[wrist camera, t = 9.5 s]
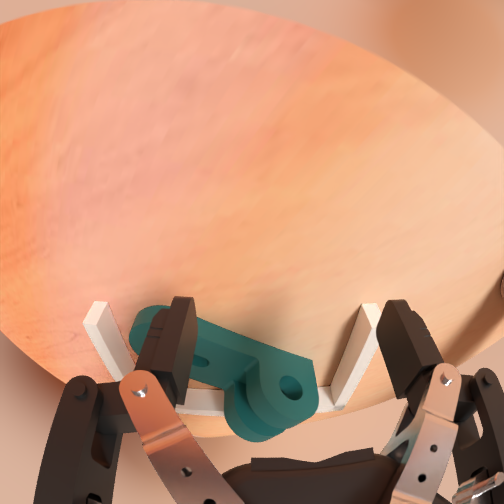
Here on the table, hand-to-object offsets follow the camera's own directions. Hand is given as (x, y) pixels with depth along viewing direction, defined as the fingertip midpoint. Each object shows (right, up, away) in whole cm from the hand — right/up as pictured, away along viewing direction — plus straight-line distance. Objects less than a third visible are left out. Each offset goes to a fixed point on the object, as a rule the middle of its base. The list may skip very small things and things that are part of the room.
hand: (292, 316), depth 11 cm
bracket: (-5, -7, +16) cm, 18 cm away
